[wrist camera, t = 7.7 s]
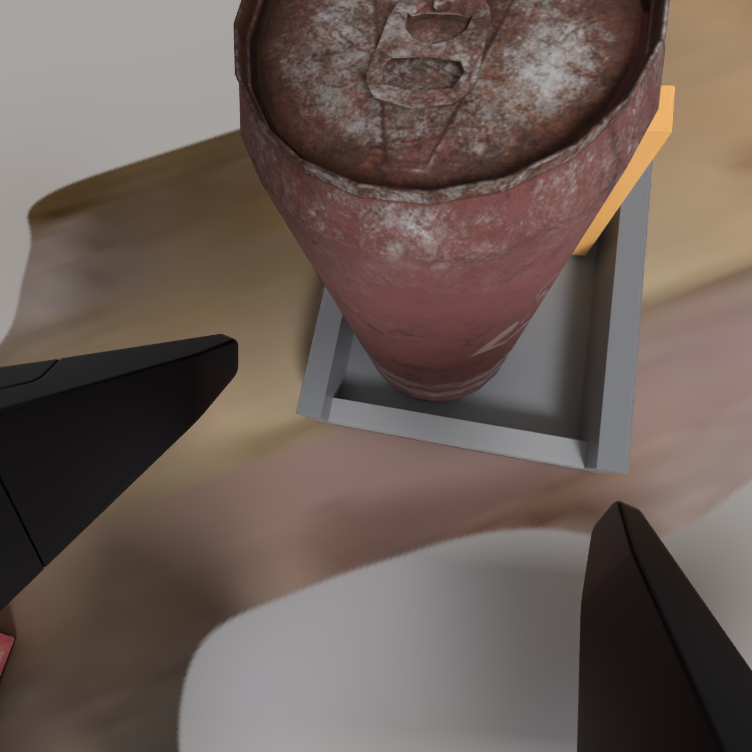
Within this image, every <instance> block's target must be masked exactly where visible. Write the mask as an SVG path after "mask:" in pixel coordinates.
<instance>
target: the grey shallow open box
mask: <svg viewBox="0 0 752 752" xmlns="http://www.w3.org/2000/svg"><path fill="white" fill-rule="evenodd" d="M652 162H653V160H652V161H651V162H650V164H649V165H648V167H647V168H646V170H645V171H644V172H643V174H642V175H641V177H640V178H639V180H638V181H637V182H636V184H635V185H634V187H633V188H632V190H631V191H630V192H629V194H628V195H627V197H626V198H625V200H624V201H623V203H622V204H621V205H620V207H619V208H618V210H617V211H616V213H615V214H614V215H613V217H612V218H611V220H610V221H609V223H608V224H607V225H606V227H605V228H604V230H603V231H602V233H601V234H600V236H599V237H598V238H597V240H596V241H595V243H594V244H593V246H592V247H591V248H590V250H589V251H588V253H587V254H586V256H582V255H571V257H570V258H569V260H568V261H567V263H566V265H565V266H564V268H563V269H562V271H561V272H560V274H559V276H558V277H557V279H556V280H555V282H554V284H553V285H552V287H551V288H550V290H549V291H548V293H547V295H546V296H545V298H544V299H543V301H542V303H541V304H540V306H539V307H538V309H537V310H536V312H535V314H534V315H533V317H532V318H531V320H530V322H529V323H528V325H527V326H526V328H525V329H524V331H523V333H522V334H521V336H520V337H519V339H518V340H517V342H516V344H515V345H514V347H513V348H512V350H511V352H510V353H509V355H508V356H507V358H506V359H505V361H504V363H503V364H502V366H501V367H500V369H499V371H498V372H497V374H496V375H495V376H494V377H493V378H491V379H490V380H489V381H488V382H487V383H486V384H485V385H484V386H483V387H482V388H481V389H479V390H477V391H475V392H473V393H471V394H469V395H466V396H464V397H462V398H460V399H456V400H448V401H440V402H432V401H427V400H422V399H416V398H412V397H410V396H408V395H406V394H405V393H403V392H401V391H399V390H397V389H395V388H394V387H392V386H391V385H390V384H389V383H388V381H387V380H386V379H385V378H384V377H383V376H382V375H381V374H380V373H379V372H378V371H377V369H376V367H375V366H374V364H373V363H372V361H371V359H370V358H369V356H368V354H367V353H366V351H365V350H364V348H363V346H362V345H361V343H360V342H359V340H358V338H357V337H356V335H355V334H354V332H353V330H352V329H351V327H350V325H349V324H348V322H347V321H346V319H345V317H344V316H343V314H342V313H341V311H340V309H339V308H338V306H337V304H336V303H335V301H334V300H333V298H332V296H331V295H330V293H329V292H328V290H327V288H326V287H324V292H323V296H322V300H321V305H320V309H319V314H318V318H317V322H316V327H315V331H314V336H313V340H312V345H311V349H310V353H309V358H308V362H307V367H306V371H305V375H304V380H303V384H302V389H301V393H300V397H299V402H298V406H297V411H296V414H299V415H301V416H304V417H306V418H309V419H312V420H314V421H317V422H322V423H328V424H333V425H338V426H344V427H349V428H355V429H360V430H365V431H371V432H376V433H382V434H387V435H393V436H398V437H403V438H409V439H414V440H420V441H425V442H430V443H436V444H441V445H447V446H452V447H457V448H463V449H468V450H474V451H479V452H485V453H490V454H495V455H501V456H506V457H512V458H517V459H522V460H528V461H533V462H539V463H544V464H550V465H555V466H560V467H566V468H571V469H577V470H582V471H587V472H593V473H608V474H628V469H629V456H630V443H631V430H632V417H633V405H634V392H635V379H636V366H637V353H638V341H639V328H640V315H641V302H642V290H643V277H644V264H645V251H646V238H647V226H648V213H649V200H650V187H651V174H652Z"/></svg>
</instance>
